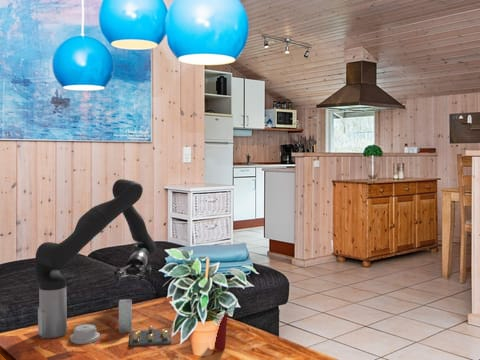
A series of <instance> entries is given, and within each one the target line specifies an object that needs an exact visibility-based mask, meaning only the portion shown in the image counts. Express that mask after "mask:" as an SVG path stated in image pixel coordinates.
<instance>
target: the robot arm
mask: <svg viewBox="0 0 480 360" xmlns="http://www.w3.org/2000/svg"><path fill="white" fill-rule="evenodd" d="M143 190H144V189H143V186H142V184H140V183H139V182H138V181H134V180H128V179H124V178H122V179H121V178H120V179H117V180H116V181H114V183H113V186H112V196H113V197H114V198H112V199H111V200H107V201H105V202H102V203H100V204H99V203H98V204H97V205H95V206H93V207H91V208H90V209H89V210H88V211H86V212H85V213H84V214H83V215H81V217H80V218H79V219H78V221H77V222H76V226H75V229H74V230H73V232H72V233H71V234H70V235H69V236H68V237H66V238H65V239H64V240H63V241H61V242H59V243H57V242H50V241H46V242H43V243H41V244H40V245H39V246H38V248H37V249H36V253H35V259H34V260H35V274H36V280H37V283H38V293H39V295H38V296H39V297H38V299H39V300H38V301H39V305H38V306H39V307H38V308H37V329H38V330H37V333H38V335H39V337H40V338H41V339H55V338H60V337H63V336H65V335H66V334H67V333H68V318H67V317H68V315H67V313H68V311H67V308H68V307H67V306H68V305H67V279H66V277H65V276H64V275H62V273H61V271H60V270H62V269H64V268H65V267H66V266H68V265H69V264H70V263H71V262H72V260H73V259H74V258H75V257H76V256H77V255H78V254H79V253H80V251H82V249H83V248H85V247H86V246H87V245H88V243H90V242H91V241H92V240H93V239H94V238H95V237H96V236H97V235H99V234H100V233H101V232H102V231H103V230H104V229H106V228H107V226H109V224H110V223H112V222H113V221H114V220H115V219H117V218H118V217H119V216H120V215H121V214H123V217H124V218H125V221H126V223H127V226H128V228H129V231H130V234H131V237H132V239H133V241H134V242H135V243H134V244H132V254H131V255H130V257H129V258H128V260H127V262H126V264H125V265H124V267H121V266H120V265H118V266H116V268H115V269H114V270H113V278H115V279H116V280H115V281H117V282H121V280H122V278H123V277H124V278H126V277H128V276H138V279H139V280H138V281H143V280H144V278H145V277H146V276H147V277H150V276H151V273H152V265H151V264H148V260H149V258H150V257H152V256H154V255H155V254H157V253H156V252H157V245H156V242H155V241H154V240H153V239H152V237H151V235H150V234H149V232H148V229H147V226H146V222H145V220H144V218H143V217H142V216H141V214H140V213H139V211H138V210H137V209H136V208H135V207H134V205H135V204H136V203H137V202H138V201H139V200H141V197H142V195H143V192H144V191H143ZM147 264H148V265H147Z"/></svg>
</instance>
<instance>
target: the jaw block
mask: <svg viewBox="0 0 480 360" xmlns="http://www.w3.org/2000/svg"><path fill="white" fill-rule="evenodd" d="M132 302H133V299H131V298H129V299H128V298H126V299H119V300H118V333H119V334H124V333H131V331H133V312H132V311H133V303H132Z"/></svg>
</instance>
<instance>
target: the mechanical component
mask: <svg viewBox="0 0 480 360" xmlns="http://www.w3.org/2000/svg"><path fill="white" fill-rule="evenodd" d="M100 338H101V333H99V331H97V326H96V325H94V324H86V323H85V324H79V325H77V326H75V327H74V328H73V334H71V335H70V342H71V343H73V344H77V345H86V344H91V343H94V342H97V341H98V340H100Z"/></svg>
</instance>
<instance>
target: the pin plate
mask: <svg viewBox="0 0 480 360" xmlns="http://www.w3.org/2000/svg"><path fill="white" fill-rule="evenodd" d="M147 327H148V328H147V329H145V330H140V329H139V330H132V331H131V332H130V337H129V347H141V346H143V347H144V346H157V345H159V346H160V345H161V346H162V345H172V339H171V337H172V336H171V330H170V328H168V329H167V328H166V329H165V328H161V329H153V328H154V327H153V325H148V326H147Z"/></svg>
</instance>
